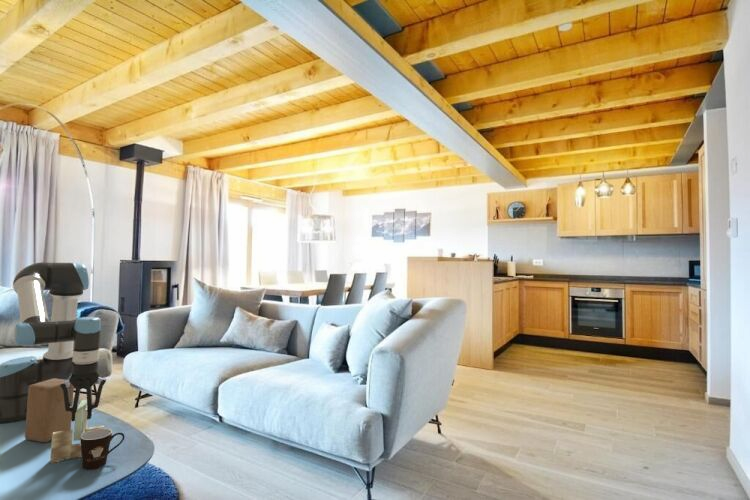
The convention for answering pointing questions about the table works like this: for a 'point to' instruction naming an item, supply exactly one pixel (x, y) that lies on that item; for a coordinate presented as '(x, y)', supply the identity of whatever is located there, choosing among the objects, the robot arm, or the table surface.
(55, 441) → the birch board
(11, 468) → the table surface
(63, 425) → the wooden block
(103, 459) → the coffee mug
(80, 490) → the table surface
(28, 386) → the robot arm
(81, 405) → the sage board
